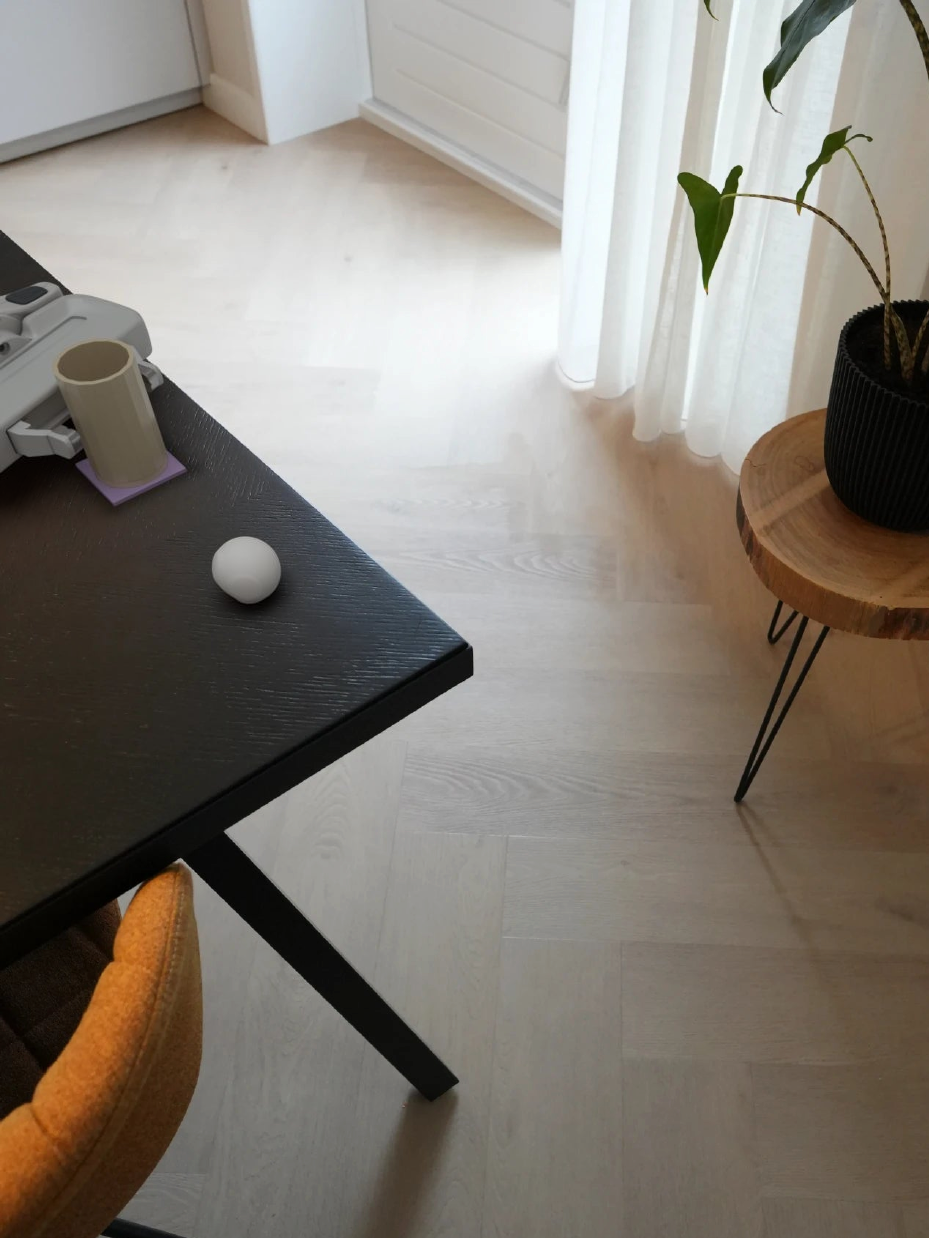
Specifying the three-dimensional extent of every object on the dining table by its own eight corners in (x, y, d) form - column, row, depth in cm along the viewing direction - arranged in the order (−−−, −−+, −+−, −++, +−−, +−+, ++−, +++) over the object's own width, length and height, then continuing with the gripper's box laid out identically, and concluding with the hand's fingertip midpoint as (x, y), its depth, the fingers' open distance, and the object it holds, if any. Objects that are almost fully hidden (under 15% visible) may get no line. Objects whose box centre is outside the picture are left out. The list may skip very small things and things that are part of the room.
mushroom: (218, 578, 86) (202, 529, 83) (282, 566, 87) (269, 517, 83) (224, 624, 83) (208, 575, 80) (290, 611, 84) (277, 562, 80)
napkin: (114, 507, 91) (113, 503, 91) (76, 467, 95) (74, 463, 94) (187, 471, 94) (185, 468, 94) (147, 434, 97) (146, 430, 97)
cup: (87, 489, 92) (43, 385, 84) (102, 442, 96) (62, 338, 88) (161, 487, 92) (125, 383, 85) (174, 441, 96) (140, 337, 88)
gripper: (-134, 401, 85) (5, 455, 81) (58, 270, 96) (188, 312, 93) (-96, 467, 90) (36, 521, 86) (82, 336, 101) (207, 378, 97)
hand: (117, 412), depth 89 cm, fingers open, 8 cm apart
